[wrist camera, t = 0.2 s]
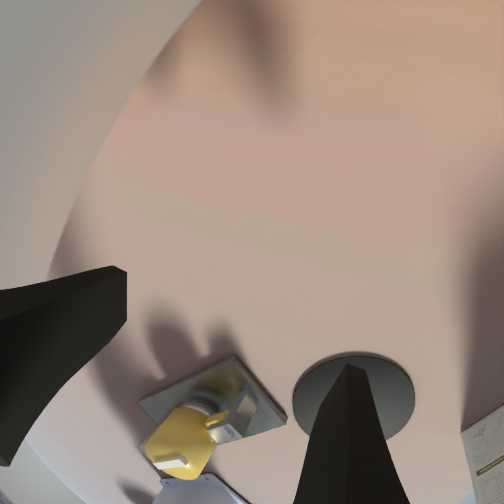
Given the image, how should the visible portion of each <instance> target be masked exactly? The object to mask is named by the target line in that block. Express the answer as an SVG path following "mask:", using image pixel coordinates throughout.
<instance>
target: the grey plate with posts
mask: <svg viewBox="0 0 504 504" xmlns="http://www.w3.org/2000/svg"><path fill="white" fill-rule="evenodd" d="M137 403H138V404H139V405H140V406H141V407H142V409H143V410H144V411H145V412H146V413H147V414H148V415H149V417H150V418H151V419H152V420H153V421H154V422H155V423H156V424H157V426H156V427H155V428H154V429H153V430H152V432H151V433H150V434H149V435H148V436H147V438H146V439H145V440H144V441H143V442H142V444H141V445H140V446H139V447H138V449H139V450H140V451H141V452H142V453H143V454H144V455H145V456H146V457H147V458H148V459H149V457H148V456H147V454H146V452H145V443H146V442H147V441H148V440H149V439H150V437H151V436H152V435H153V434H154V433H155V431H156V430H157V429H158V428H159V426H160V425H161V424H162V423H163V422H164V420H165V419H166V418H167V417H168V415H169V414H170V413H171V412H172V411H173V410H174V409H175V408H178V407H189V408H193V409H196V410H198V411H200V412H202V413H204V414H205V415H207V416H208V417H209V416H212V415H215V414H218V413H221V412H224V411H226V410H227V411H228V412H229V415H228V416H227V418H226V420H223V421H220V422H217V423H213V424H210V425H209V427H208V429H207V430H206V432H207V433H208V434H209V435H210V436H211V437H212V438H213V439H214V440H215V441H216V442H217V443H218V444H217V445H219V444H223V443H227V442H231V441H235V440H238V439H242V438H245V437H248V436H252V435H255V434H258V433H262V432H265V431H268V430H271V429H274V428H277V427H280V426H283V425H286V422H287V419H288V417H287V416H286V415H285V414H284V413H283V412H282V411H281V409H280V408H279V407H278V406H277V405H276V404H275V402H274V401H273V400H272V399H271V398H270V397H269V395H268V394H267V393H266V392H265V391H264V389H263V388H262V387H261V386H260V385H259V383H258V382H257V381H256V380H255V379H254V377H253V376H252V375H251V374H250V372H249V371H248V370H247V369H246V368H245V366H244V365H243V364H242V363H241V361H240V360H239V359H238V358H237V356H236V355H235V354H232V355H231V356H229V357H227V358H225V359H223V360H221V361H219V362H217V363H215V364H213V365H211V366H209V367H207V368H205V369H203V370H201V371H199V372H197V373H194V374H192V375H190V376H188V377H186V378H184V379H182V380H180V381H178V382H176V383H173V384H171V385H169V386H167V387H165V388H163V389H160V390H158V391H156V392H154V393H151V394H149V395H147V396H145V397H142V398H141V399H140V400H139V401H138V402H137Z"/></svg>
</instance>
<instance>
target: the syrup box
mask: <svg viewBox="0 0 504 504" xmlns="http://www.w3.org/2000/svg"><path fill="white" fill-rule="evenodd" d="M461 438H462V442H463V446H464V449H465V454H466V458H467V462H468V466H469V471H470V475H471V479H472V484H473V489H474V493H475V498H476V503H477V504H504V405H503V406H501V407H500V408H498V409H497V410H495V411H494V412H492V413H491V414H489V415H488V416H486V417H485V418H483V419H482V420H480V421H479V422H477V423H476V424H474V425H472V426H471V427H469V428H468V429H466V430H464V431H463V432H461Z"/></svg>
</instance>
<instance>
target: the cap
mask: <svg viewBox="0 0 504 504" xmlns="http://www.w3.org/2000/svg"><path fill="white" fill-rule="evenodd" d="M228 415H229V412H228V411H227V410H226V411H224V412H221V413H218V414H215V415H212V416H209V417H208V416H207V415H205V414H204V413H202V412H200V411H198V410H196V409H193V408H189V407H178V408H175V409H174V410H173V411H172V412H171V413H170V414H169V415H168V417H167V418H166V419H165V420H164V422H163V423H162V424H161V425H160V426H159V428H158V429H157V430H156V431H155V433H154V434H153V435H152V436H151V437H150V439H149V440H148V441H147V442H146V443H145V452H146V454H147V456H148V457H149V459H150V460H151V461H152V462H153V464H154V465H155V466H156V467H157V468H158V469H159V470H160V469H161V470H162V471H164V472H166V473H167V474H169V475H171V476H174V477H176V478H179V479H184V480H193V479H196V478H198V476H199V475H200V473H201V471H202V470H203V468H204V466H205V465H206V463H207V461H208V460H209V458H210V456H211V454H212V453H213V451H214V449H215V448H216V446H217V444H218V443H217V442H216V441H215V440H214V439H213V438H212V437H211V436H210V435H209V434H208V433H207V432H206V430H207V429H208V427H209V425H210V424H213V423H217V422H220V421H223V420H226V418H227V416H228Z"/></svg>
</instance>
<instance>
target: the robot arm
mask: <svg viewBox="0 0 504 504" xmlns="http://www.w3.org/2000/svg"><path fill="white" fill-rule="evenodd" d="M126 321H127V272H125V271H123V270H121V269H119V268H117V267H115V266H107V267H102V268H98V269H93V270H89V271H85V272H81V273H78V274H74V275H70V276H66V277H62V278H58V279H54V280H50V281H46V282H41V283H37V284H32V285H28V286H23V287H18V288H12V289H4V290H0V466H5V467H7V466H10V464H11V462H12V459H13V458H14V456H15V454H16V452H17V450H18V448H19V447H20V445H21V443H22V441H23V439H24V438H25V436H26V435H27V433H28V432H29V430H30V428H31V427H32V425H33V424H34V422H35V421H36V419H37V418H38V417H39V415H40V414H41V413H42V411H43V410H44V408H45V407H46V406H47V404H48V403H49V402H50V401H51V400H52V398H53V397H54V396H55V395H56V393H57V392H58V391H59V390H60V388H61V387H62V386H63V385H64V384H65V383H66V382H67V381H68V380H69V379H70V378H71V377H72V376H73V375H74V374H76V373H77V372H78V371H79V370H80V369H81V368H82V367H83V366H84V365H85V364H86V363H87V362H88V361H90V360H91V359H92V358H93V357H94V356H95V355H96V354H97V353H98V352H99V351H100V350H101V349H102V348H103V347H105V346H106V345H107V344H108V343H109V342H110V341H111V339H112V338H113V337H114V336H115V335H116V333H117V332H118V331H119V330H120V328H121V327H122V326H123V325H124V323H125V322H126ZM159 482H160V484H161V485H163V486H164V487H163V488H162V490H161V491H160V493H159V494H158V495H157V497H156V498H155V500H154V501H153V502H152V504H248V503H246V502H245V501H244V500H243V499H241V498H240V497H239V496H238V495H236V494H235V493H234V492H233V491H232V490H230V489H229V488H228V487H227V486H226V485H225V484H224V483H222V482H221V481H220V480H219V479H218V478H217V477H216V476H214V475H213V474H210V473H208V474H202V475H199V476H198V478H196V479H193V480H184V479H179V478H168V479H160V481H159ZM0 504H14V503H13V502H12V501H11V500H10V499H9V498H8V497H7V496H6V495H5V494H4V493H3V492H2V491H1V490H0ZM293 504H410V502H409V500H408V498H407V496H406V494H405V491H404V489H403V487H402V484H401V482H400V480H399V477H398V475H397V472H396V469H395V467H394V464H393V461H392V458H391V455H390V452H389V450H388V446H387V443H386V440H385V437H384V434H383V430H382V427H381V424H380V420H379V417H378V413H377V410H376V406H375V402H374V398H373V395H372V391H371V387H370V383H369V379H368V375H367V372H366V370H365V369H362V368H359V367H356V366H353V365H350V364H347V363H346V365H345V366H344V368H343V370H342V371H341V373H340V375H339V376H338V378H337V379H336V381H335V383H334V384H333V386H332V388H331V389H330V391H329V392H328V394H327V395H326V397H325V399H324V400H323V402H322V403H321V405H320V407H319V410H318V413H317V416H316V419H315V422H314V425H313V428H312V431H311V434H310V438H309V443H308V447H307V451H306V456H305V460H304V464H303V468H302V472H301V477H300V481H299V484H298V488H297V492H296V496H295V499H294V502H293Z"/></svg>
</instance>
